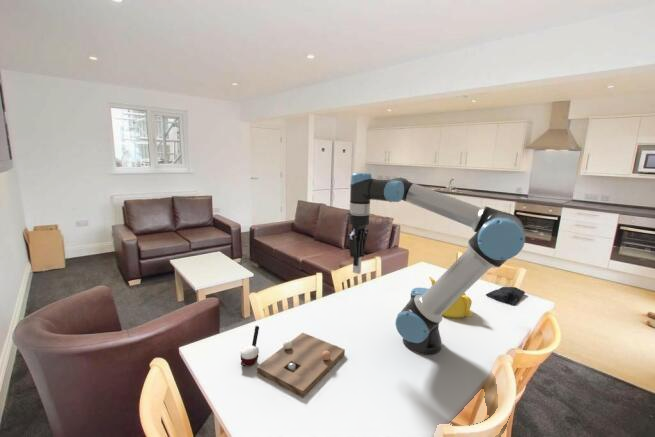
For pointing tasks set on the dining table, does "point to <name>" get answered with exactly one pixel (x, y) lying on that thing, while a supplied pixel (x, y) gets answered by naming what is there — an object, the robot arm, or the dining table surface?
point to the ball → (291, 367)
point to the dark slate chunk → (506, 295)
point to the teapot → (458, 306)
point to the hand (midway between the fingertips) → (356, 272)
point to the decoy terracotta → (326, 355)
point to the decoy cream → (287, 344)
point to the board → (301, 364)
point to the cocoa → (250, 351)
